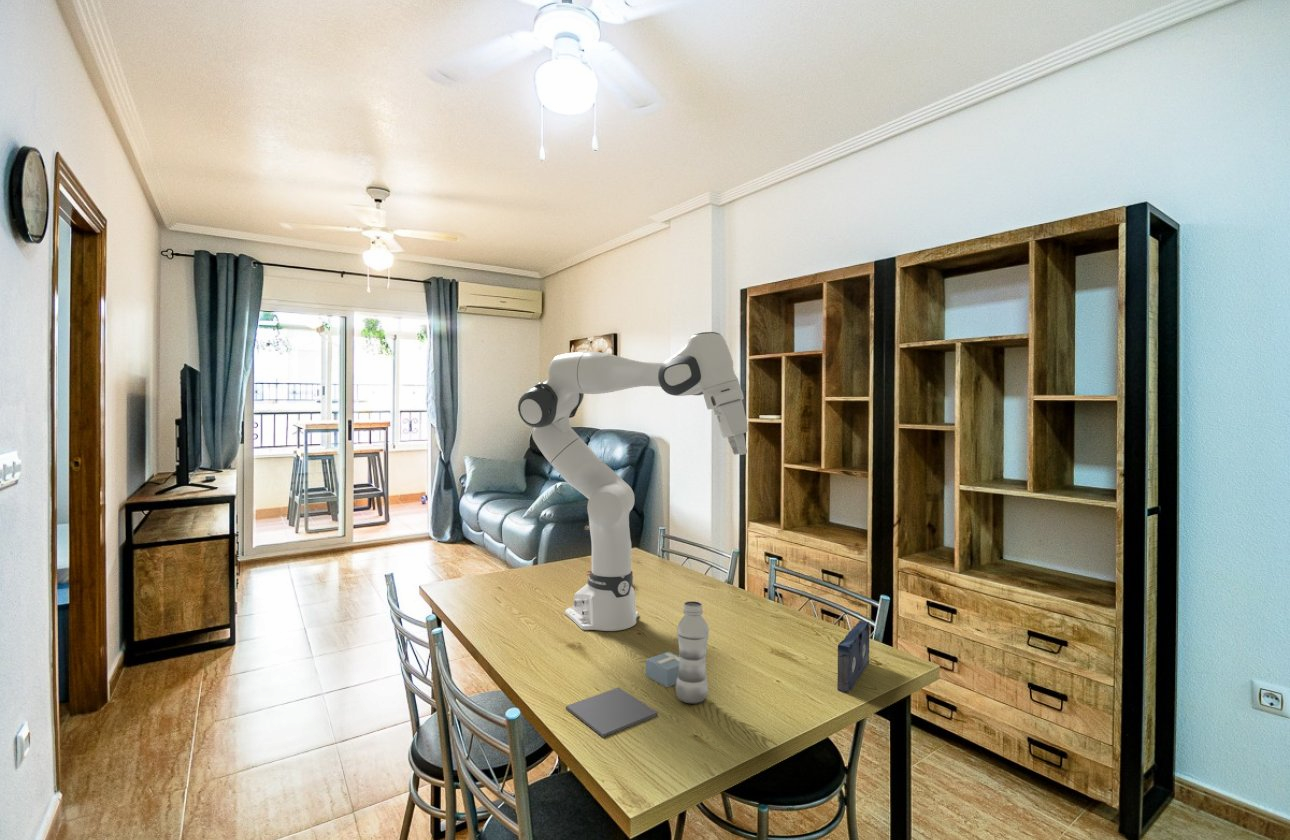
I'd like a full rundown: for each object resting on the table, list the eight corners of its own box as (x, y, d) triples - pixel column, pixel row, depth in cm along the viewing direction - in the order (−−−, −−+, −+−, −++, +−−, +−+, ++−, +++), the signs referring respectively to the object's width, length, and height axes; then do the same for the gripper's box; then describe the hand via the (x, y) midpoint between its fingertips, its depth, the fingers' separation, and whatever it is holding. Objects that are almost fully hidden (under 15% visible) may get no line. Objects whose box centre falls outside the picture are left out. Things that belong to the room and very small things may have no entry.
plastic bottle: (673, 692, 127) (674, 599, 126) (704, 692, 127) (706, 598, 127) (677, 708, 120) (678, 609, 120) (710, 707, 121) (712, 609, 120)
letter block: (645, 676, 134) (646, 657, 134) (668, 668, 139) (668, 650, 139) (667, 688, 129) (667, 668, 129) (690, 679, 134) (690, 659, 134)
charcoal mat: (565, 708, 119) (565, 705, 119) (618, 690, 128) (618, 687, 128) (602, 737, 109) (602, 734, 109) (657, 715, 117) (657, 712, 117)
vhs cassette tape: (858, 660, 144) (859, 619, 144) (871, 664, 142) (872, 622, 142) (834, 690, 129) (835, 644, 129) (848, 694, 127) (849, 647, 127)
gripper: (706, 404, 151) (722, 457, 151) (715, 397, 131) (733, 458, 130) (730, 397, 151) (746, 450, 151) (743, 389, 131) (761, 450, 130)
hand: (740, 454), depth 140 cm, fingers open, 8 cm apart
